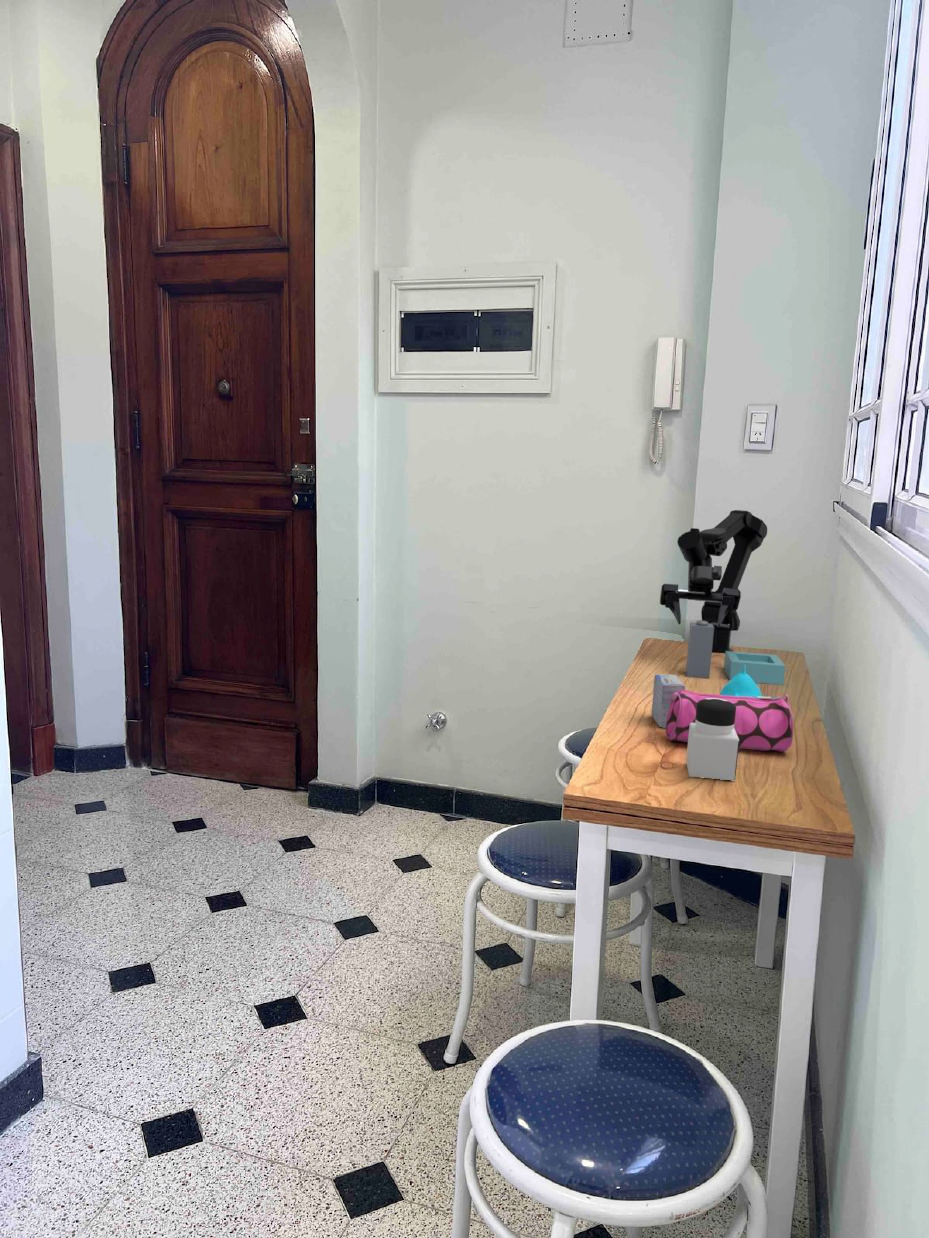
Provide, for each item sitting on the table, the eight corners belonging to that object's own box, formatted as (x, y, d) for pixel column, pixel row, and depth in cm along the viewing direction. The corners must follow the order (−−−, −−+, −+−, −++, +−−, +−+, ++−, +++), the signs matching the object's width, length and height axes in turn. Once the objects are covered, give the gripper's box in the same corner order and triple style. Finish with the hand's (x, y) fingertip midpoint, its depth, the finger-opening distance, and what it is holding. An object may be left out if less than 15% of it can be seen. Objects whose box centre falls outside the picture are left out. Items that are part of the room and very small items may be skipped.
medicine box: (682, 729, 166) (686, 684, 164) (658, 728, 166) (662, 683, 164) (673, 717, 174) (677, 674, 172) (650, 716, 174) (654, 673, 172)
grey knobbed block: (685, 672, 212) (690, 618, 210) (707, 673, 211) (712, 620, 209) (687, 676, 207) (692, 622, 205) (709, 678, 206) (714, 624, 204)
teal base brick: (723, 668, 217) (725, 650, 216) (774, 672, 215) (776, 654, 214) (729, 680, 205) (731, 661, 205) (783, 684, 204) (785, 665, 203)
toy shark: (720, 728, 168) (726, 673, 166) (708, 703, 185) (712, 653, 183) (774, 732, 166) (780, 677, 164) (756, 706, 184) (761, 656, 182)
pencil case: (779, 741, 162) (785, 688, 160) (793, 758, 152) (800, 702, 151) (661, 732, 164) (666, 680, 162) (668, 749, 154) (673, 694, 152)
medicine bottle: (735, 782, 139) (743, 709, 137) (688, 777, 140) (695, 704, 138) (729, 767, 146) (737, 697, 144) (685, 762, 147) (692, 693, 145)
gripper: (664, 550, 216) (662, 601, 207) (743, 555, 212) (745, 608, 204) (660, 578, 225) (658, 629, 216) (736, 584, 222) (737, 635, 213)
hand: (699, 624), depth 212 cm, fingers open, 9 cm apart
